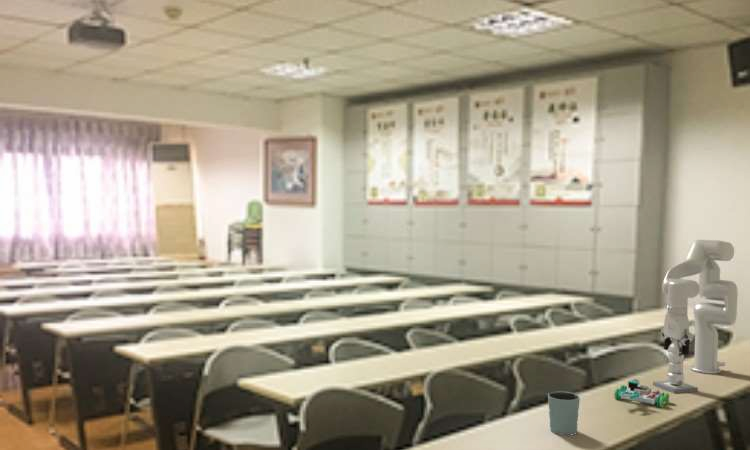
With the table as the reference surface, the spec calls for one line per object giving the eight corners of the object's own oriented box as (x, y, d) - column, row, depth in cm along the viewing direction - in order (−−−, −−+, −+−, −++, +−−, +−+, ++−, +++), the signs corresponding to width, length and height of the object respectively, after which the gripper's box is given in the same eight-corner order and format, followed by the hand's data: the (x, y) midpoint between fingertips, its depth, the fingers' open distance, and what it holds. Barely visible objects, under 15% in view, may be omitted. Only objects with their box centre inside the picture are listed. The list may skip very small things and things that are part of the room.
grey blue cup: (585, 433, 216) (586, 397, 216) (564, 438, 210) (565, 401, 210) (561, 424, 224) (562, 389, 224) (540, 429, 219) (541, 393, 219)
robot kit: (602, 407, 246) (603, 382, 246) (622, 392, 266) (623, 369, 265) (654, 417, 235) (655, 391, 234) (671, 401, 254) (672, 377, 254)
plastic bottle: (680, 382, 276) (681, 335, 275) (686, 387, 269) (687, 338, 268) (664, 381, 276) (665, 334, 276) (670, 386, 269) (671, 338, 269)
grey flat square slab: (676, 383, 280) (676, 380, 280) (697, 391, 268) (697, 387, 268) (653, 385, 276) (653, 381, 276) (673, 393, 265) (673, 389, 265)
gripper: (655, 308, 279) (654, 348, 279) (685, 314, 262) (684, 357, 263) (669, 307, 281) (668, 347, 282) (700, 314, 264) (699, 356, 265)
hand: (676, 352), depth 272 cm, fingers open, 9 cm apart
